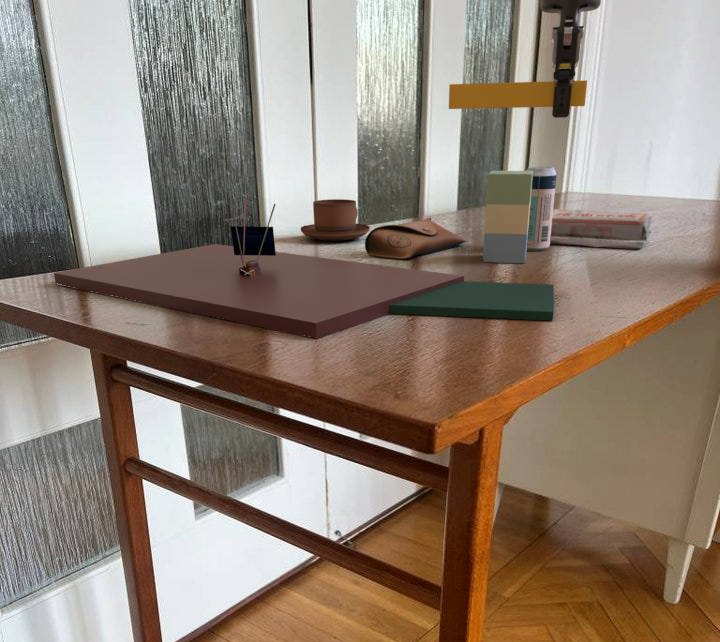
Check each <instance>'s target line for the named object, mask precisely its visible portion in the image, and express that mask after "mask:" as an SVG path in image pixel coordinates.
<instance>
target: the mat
mask: <svg viewBox="0 0 720 642" xmlns="http://www.w3.org/2000/svg"><path fill="white" fill-rule="evenodd" d="M554 286H555V285H554V284H550V283H549V284H548V283H527V282H526V283H523V282H521V283H520V282H496V281H495V282H492V281H465V280H464V281H461V282H458V283H455V284H452V285H449V286H446V287H443V288H440V289H437V290H434V291H430V292H427V293H424V294H421V295H418V296H415V297H412V298H409V299H406V300H403V301H400V302H397V303H394V304H391V305H390V314H389V315H409V316H410V315H411V316H431V317H432V316H433V317H452V316H453V317H455V318H474V317H476V318H477V317H485V318H484V319H497V318H506V319H505V320H519V319H522V320H523V321H541V320H553V321H554V311H555V310H554V297H555V296H554V295H555V294H554V293H555V292H554V291H555V287H554ZM477 319H478V318H477ZM522 320H521V321H522Z"/></svg>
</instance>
